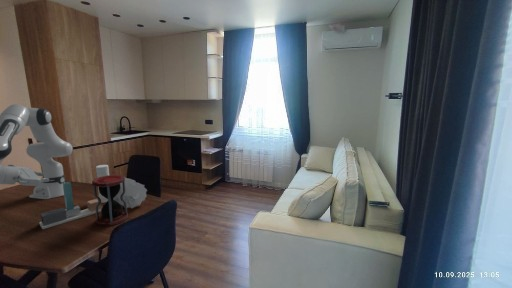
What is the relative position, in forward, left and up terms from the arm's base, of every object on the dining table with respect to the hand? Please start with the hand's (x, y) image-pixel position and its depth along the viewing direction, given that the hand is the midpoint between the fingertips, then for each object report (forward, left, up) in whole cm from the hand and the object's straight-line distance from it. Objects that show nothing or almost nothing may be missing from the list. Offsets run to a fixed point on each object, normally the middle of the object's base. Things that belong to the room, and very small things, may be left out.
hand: (45, 177), depth 130 cm
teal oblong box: (+4, +3, -25) cm, 26 cm away
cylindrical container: (+11, +31, -27) cm, 43 cm away
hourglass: (+31, +5, -27) cm, 42 cm away
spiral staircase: (+29, +26, -28) cm, 48 cm away
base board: (+7, +7, -27) cm, 29 cm away
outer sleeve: (+1, 0, -26) cm, 26 cm away
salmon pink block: (+14, +16, -26) cm, 33 cm away
